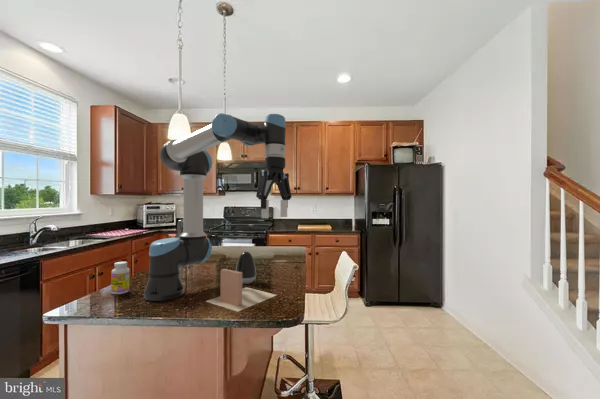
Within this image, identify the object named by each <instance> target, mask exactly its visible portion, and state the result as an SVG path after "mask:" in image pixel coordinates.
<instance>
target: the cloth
mask: <svg viewBox="0 0 600 399" xmlns="http://www.w3.org/2000/svg"><path fill="white" fill-rule="evenodd" d="M276 296H277V294H275V293H270V292H268V291H267V292H266V291H262V290H258V289H254V288H250V287H242V305H239V306H237V305H234V304H230V303H227V302H224V301H221V300H220V295H219V296H217V297H214V298H210V299H208V300H205V302H206V303H208V304H213V305H215V306H218V307H220V308H221V307H222V308H225V309H226V310H231V311H234V312H237V313H238V312H240V311H242V310H245V309H249V308H250V307H252V306H255V305H258V304H259V303H261V302H264V301H266V300H269V299H271V298H275V297H276Z"/></svg>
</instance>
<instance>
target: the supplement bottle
mask: <svg viewBox="0 0 600 399" xmlns="http://www.w3.org/2000/svg"><path fill="white" fill-rule="evenodd" d="M113 264H114V268H113V269H112V270H111V272H110V273H111V278H110V280H111V282H110V284H111V285H110V293H111V294H112V295H123V294H126V293H128V292H129V291H130V268H129V267H127V266H128V262H127V261H117V262H114V263H113Z"/></svg>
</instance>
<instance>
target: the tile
mask: <svg viewBox="0 0 600 399" xmlns="http://www.w3.org/2000/svg"><path fill="white" fill-rule="evenodd" d="M242 289H243V284H242V272H238V271H236V270H232V269H228V268H222V269H220V290H219V291H220V295H219V296H220V300H221V301H224V302H227V303H230V304H234V305H237V306H239V305H242Z"/></svg>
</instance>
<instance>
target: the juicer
mask: <svg viewBox="0 0 600 399" xmlns="http://www.w3.org/2000/svg"><path fill="white" fill-rule="evenodd" d="M176 227H177V228H176V230H177V232H176V233H175V237H174V238H179V239H180V235H181V234H182V233H183V219H179V220H178V221H177V224H176ZM189 266H190V274H191V273H192V274H193V265H189ZM183 271H184V266H183V267H180V278H182V279H183V276H184V275H183V273H184V272H183Z"/></svg>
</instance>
